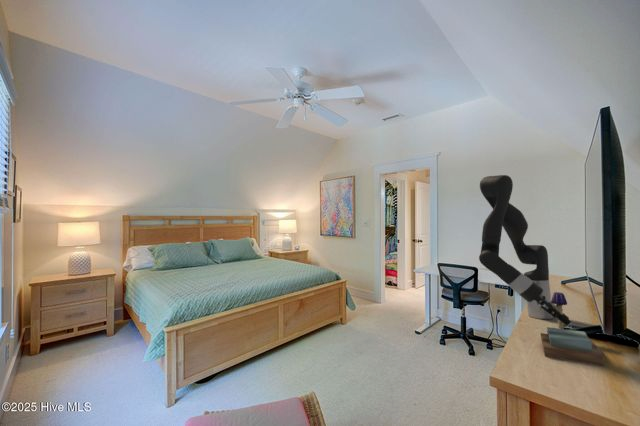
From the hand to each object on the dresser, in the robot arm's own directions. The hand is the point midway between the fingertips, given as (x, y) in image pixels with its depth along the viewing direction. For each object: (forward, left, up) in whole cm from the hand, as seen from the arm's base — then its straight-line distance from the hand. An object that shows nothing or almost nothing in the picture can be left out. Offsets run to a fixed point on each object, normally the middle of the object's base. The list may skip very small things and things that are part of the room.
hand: (567, 321), depth 105 cm
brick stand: (+15, -2, -6) cm, 16 cm away
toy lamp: (0, -2, -6) cm, 7 cm away
